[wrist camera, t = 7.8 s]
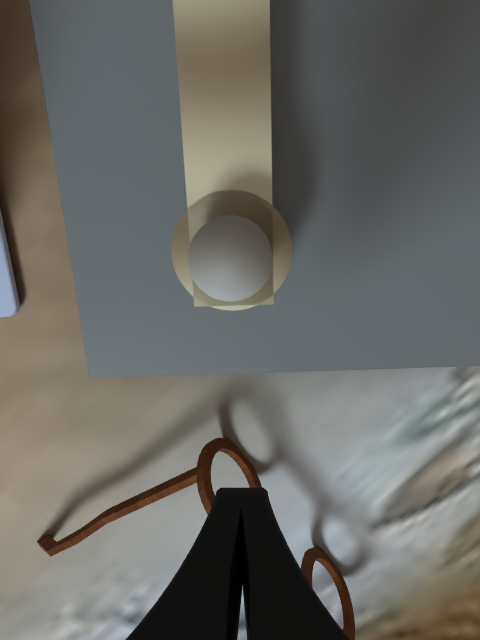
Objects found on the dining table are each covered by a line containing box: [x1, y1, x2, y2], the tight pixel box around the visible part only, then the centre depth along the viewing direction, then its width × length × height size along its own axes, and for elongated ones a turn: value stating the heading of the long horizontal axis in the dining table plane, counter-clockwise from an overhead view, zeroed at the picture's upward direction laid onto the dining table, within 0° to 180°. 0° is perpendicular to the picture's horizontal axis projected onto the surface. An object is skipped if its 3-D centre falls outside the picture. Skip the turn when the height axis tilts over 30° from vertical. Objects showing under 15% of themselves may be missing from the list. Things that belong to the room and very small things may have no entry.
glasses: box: [37, 438, 355, 640], centre depth 23 cm, size 13×13×5 cm
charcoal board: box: [29, 0, 480, 378], centre depth 17 cm, size 18×26×1 cm
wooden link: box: [171, 0, 292, 311], centre depth 15 cm, size 15×4×4 cm, turn 2°
